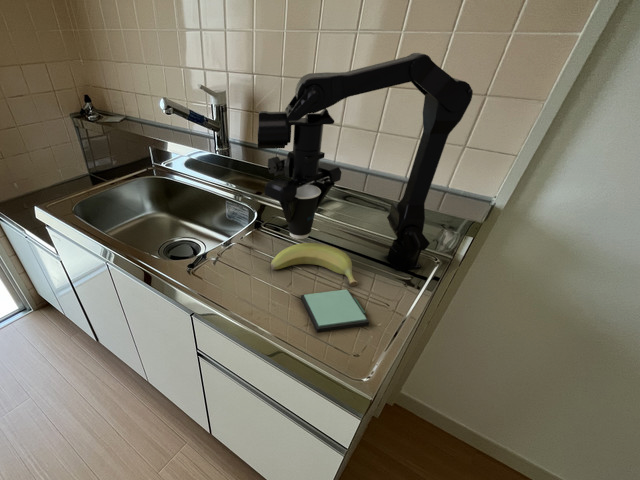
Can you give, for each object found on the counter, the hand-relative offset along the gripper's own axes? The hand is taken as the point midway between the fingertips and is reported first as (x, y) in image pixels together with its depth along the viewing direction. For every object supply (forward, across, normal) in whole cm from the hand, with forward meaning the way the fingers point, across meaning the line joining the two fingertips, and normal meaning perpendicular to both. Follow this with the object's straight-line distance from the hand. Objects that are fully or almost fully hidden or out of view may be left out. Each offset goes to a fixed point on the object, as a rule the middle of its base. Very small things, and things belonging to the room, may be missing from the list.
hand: (301, 217), depth 80 cm
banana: (+13, 0, +7) cm, 15 cm away
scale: (+13, +8, +19) cm, 24 cm away
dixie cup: (+5, 0, 0) cm, 5 cm away
